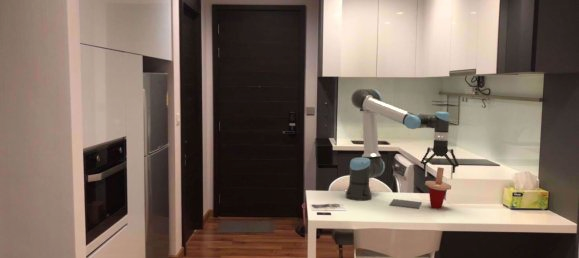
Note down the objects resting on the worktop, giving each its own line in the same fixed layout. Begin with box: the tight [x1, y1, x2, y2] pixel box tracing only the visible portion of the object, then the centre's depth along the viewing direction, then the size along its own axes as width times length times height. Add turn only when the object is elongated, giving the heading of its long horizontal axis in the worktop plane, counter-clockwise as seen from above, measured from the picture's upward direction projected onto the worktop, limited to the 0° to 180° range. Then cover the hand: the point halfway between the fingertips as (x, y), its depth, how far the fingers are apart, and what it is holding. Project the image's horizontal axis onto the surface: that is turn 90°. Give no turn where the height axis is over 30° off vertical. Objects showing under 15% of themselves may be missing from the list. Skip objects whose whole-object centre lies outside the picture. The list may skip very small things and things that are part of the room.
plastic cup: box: [427, 186, 448, 210], centre depth 278 cm, size 11×11×12 cm
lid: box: [424, 166, 452, 191], centre depth 277 cm, size 14×14×10 cm
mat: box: [388, 198, 422, 210], centre depth 284 cm, size 16×15×1 cm
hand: (438, 177), depth 277 cm, fingers open, 13 cm apart
